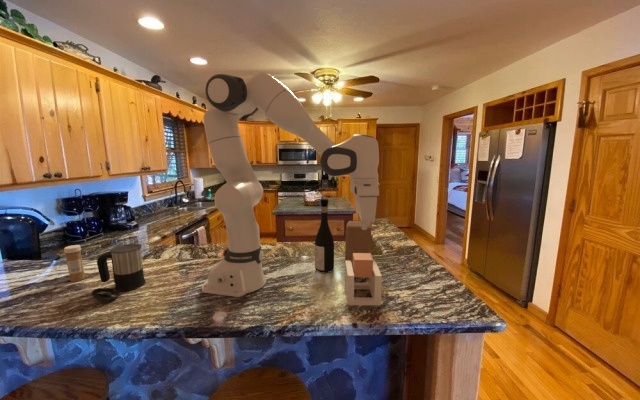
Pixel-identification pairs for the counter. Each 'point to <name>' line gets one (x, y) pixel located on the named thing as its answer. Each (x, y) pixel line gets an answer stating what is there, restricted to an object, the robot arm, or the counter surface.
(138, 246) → the milk frother
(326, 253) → the wine bottle
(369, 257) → the block
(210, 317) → the counter surface
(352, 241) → the wooden block
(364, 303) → the chute
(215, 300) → the counter surface
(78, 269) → the pill bottle
